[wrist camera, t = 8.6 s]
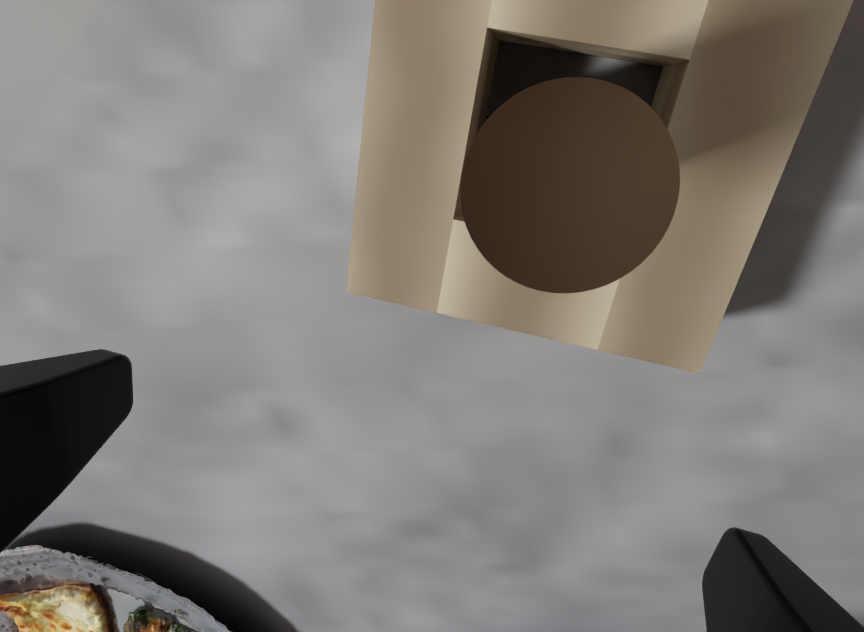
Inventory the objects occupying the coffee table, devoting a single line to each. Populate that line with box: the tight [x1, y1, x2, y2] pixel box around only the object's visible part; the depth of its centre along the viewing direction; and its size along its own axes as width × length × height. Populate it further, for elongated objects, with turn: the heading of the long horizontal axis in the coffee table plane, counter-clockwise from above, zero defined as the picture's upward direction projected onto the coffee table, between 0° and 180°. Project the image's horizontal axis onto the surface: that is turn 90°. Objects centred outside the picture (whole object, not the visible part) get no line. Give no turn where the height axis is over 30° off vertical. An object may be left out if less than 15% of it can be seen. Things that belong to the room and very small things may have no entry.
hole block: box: [346, 0, 854, 373], centre depth 16 cm, size 11×11×4 cm
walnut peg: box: [460, 77, 680, 293], centre depth 13 cm, size 3×3×11 cm
